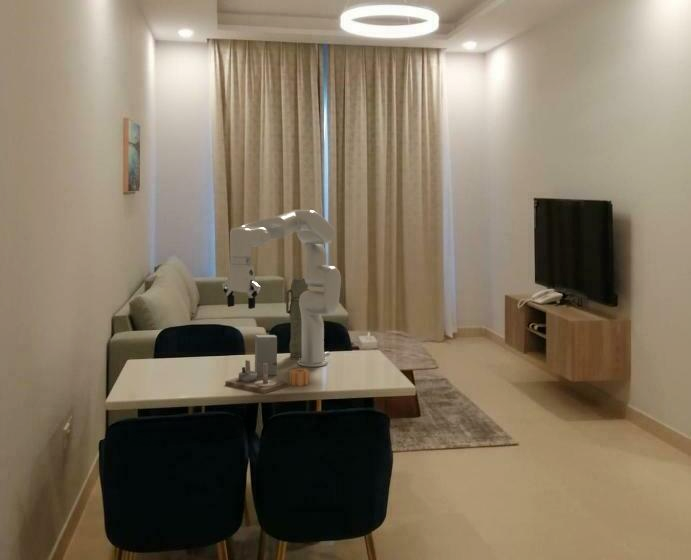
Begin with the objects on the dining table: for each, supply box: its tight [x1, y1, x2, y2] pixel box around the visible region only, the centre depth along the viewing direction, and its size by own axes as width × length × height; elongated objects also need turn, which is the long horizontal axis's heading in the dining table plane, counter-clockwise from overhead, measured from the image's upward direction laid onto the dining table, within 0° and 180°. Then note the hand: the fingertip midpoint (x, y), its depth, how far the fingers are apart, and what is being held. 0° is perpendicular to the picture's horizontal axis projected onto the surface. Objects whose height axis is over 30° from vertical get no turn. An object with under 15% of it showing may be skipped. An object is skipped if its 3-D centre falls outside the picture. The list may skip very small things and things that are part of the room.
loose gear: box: [289, 367, 310, 387], centre depth 263 cm, size 7×7×5 cm
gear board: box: [224, 359, 289, 394], centre depth 260 cm, size 20×13×9 cm, turn 54°
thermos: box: [285, 278, 310, 360], centre depth 307 cm, size 9×12×35 cm
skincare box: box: [254, 334, 278, 377], centre depth 277 cm, size 8×7×16 cm
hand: (241, 307), depth 256 cm, fingers open, 9 cm apart
